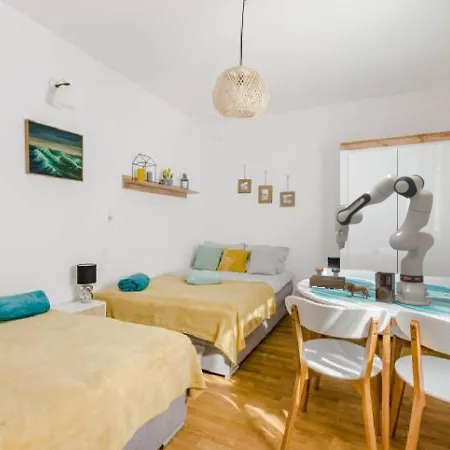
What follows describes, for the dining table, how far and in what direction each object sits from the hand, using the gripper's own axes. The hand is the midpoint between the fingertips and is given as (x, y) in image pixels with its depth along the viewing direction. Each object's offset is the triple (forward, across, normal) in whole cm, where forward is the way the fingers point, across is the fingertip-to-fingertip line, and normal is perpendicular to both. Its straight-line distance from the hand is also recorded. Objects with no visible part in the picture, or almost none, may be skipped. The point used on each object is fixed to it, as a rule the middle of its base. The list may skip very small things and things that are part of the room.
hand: (341, 248), depth 216 cm
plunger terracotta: (+22, -4, +14) cm, 26 cm away
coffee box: (+26, -27, -29) cm, 47 cm away
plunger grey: (+22, -3, +3) cm, 22 cm away
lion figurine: (+26, -25, -14) cm, 38 cm away
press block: (+26, -3, +8) cm, 28 cm away
